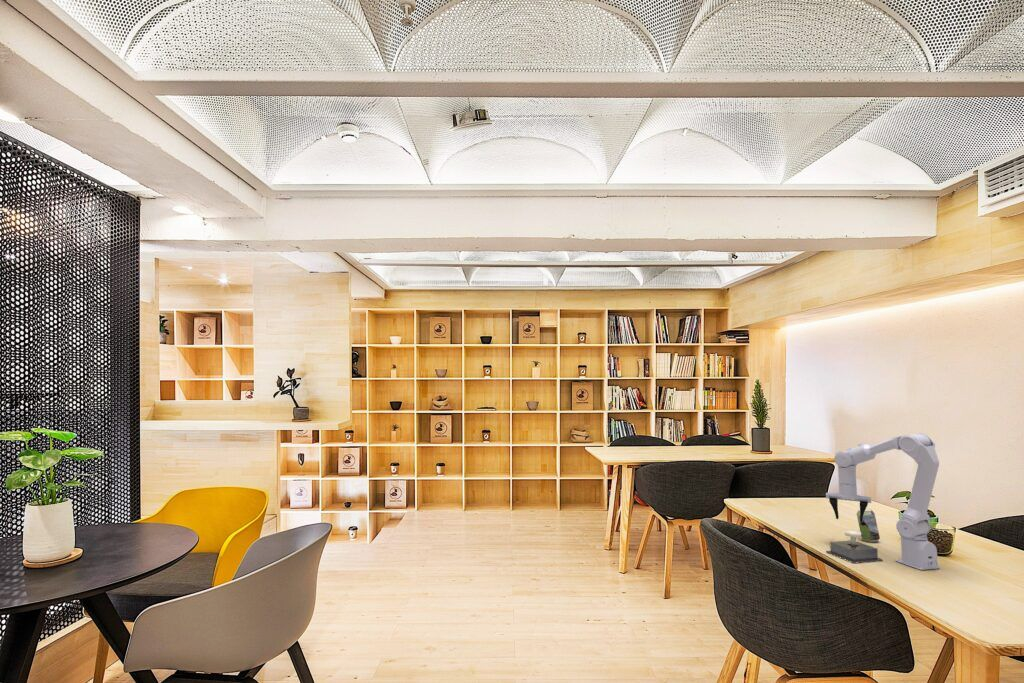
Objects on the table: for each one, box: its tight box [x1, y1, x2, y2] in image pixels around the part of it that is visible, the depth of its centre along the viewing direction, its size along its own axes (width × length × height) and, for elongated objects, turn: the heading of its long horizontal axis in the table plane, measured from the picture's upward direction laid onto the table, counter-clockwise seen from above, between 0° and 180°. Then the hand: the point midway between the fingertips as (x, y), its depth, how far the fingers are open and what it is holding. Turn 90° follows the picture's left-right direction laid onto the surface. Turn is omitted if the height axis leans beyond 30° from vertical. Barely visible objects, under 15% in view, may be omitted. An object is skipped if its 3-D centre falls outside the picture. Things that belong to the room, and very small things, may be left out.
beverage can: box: [856, 508, 881, 543], centre depth 212 cm, size 6×7×12 cm
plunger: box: [844, 529, 862, 547], centre depth 192 cm, size 5×5×5 cm
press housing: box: [825, 540, 884, 564], centre depth 192 cm, size 12×12×4 cm
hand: (849, 520), depth 204 cm, fingers open, 7 cm apart
